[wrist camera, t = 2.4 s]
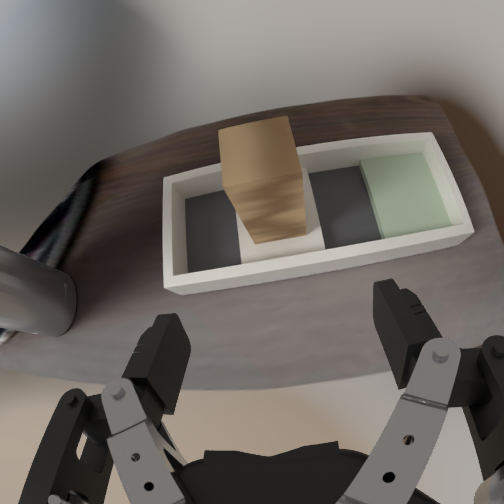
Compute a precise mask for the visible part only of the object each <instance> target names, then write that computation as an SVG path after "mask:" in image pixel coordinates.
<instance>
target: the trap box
mask: <svg viewBox="0 0 504 504" xmlns="http://www.w3.org/2000/svg"><path fill="white" fill-rule="evenodd" d="M296 150H297V153H298V157H299V161H300V165H301V169H302V175H303V188H304V202H305V217H306V235H305V236H300V237H294V238H288V239H283V240H277V241H272V242H266V243H261V244H254V242H253V240H252V238H251V237H250V235H249V233H248V231H247V229H246V228H245V226H244V224H243V222H242V221H241V219H240V217H239V215H238V213H237V212H236V210H235V208H234V206H233V205H232V203H231V201H230V199H229V198H228V196H227V194H226V192H225V190H224V189H223V183H222V171H221V163H218V164H214V165H210V166H206V167H202V168H198V169H194V170H190V171H186V172H183V173H179V174H175V175H172V176H168V177H165V178H164V180H163V276H164V288H165V289H168V290H170V291H172V292H175V293H177V294H180V295H187V294H194V293H201V292H208V291H215V290H222V289H228V288H235V287H241V286H247V285H254V284H260V283H266V282H272V281H278V280H284V279H290V278H296V277H301V276H307V275H313V274H318V273H324V272H329V271H335V270H340V269H346V268H351V267H356V266H361V265H367V264H372V263H377V262H382V261H387V260H392V259H397V258H402V257H407V256H411V255H416V254H421V253H426V252H430V251H435V250H439V249H444V248H448V247H453V246H457V245H459V244H460V243H462V242H463V241H464V240H465V239H467V238H468V237H469V236H470V235H472V234H473V233H474V229H473V226H472V223H471V220H470V217H469V214H468V211H467V209H466V206H465V203H464V201H463V198H462V196H461V193H460V191H459V188H458V186H457V183H456V181H455V179H454V177H453V174H452V172H451V170H450V168H449V165H448V163H447V161H446V159H445V157H444V155H443V153H442V151H441V149H440V147H439V145H438V143H437V141H436V139H435V137H434V135H433V134H432V132H425V133H409V134H396V135H385V136H375V137H366V138H357V139H349V140H341V141H334V142H327V143H320V144H314V145H308V146H302V147H296Z"/></svg>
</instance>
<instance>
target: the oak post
mask: <svg viewBox="0 0 504 504" xmlns="http://www.w3.org/2000/svg"><path fill="white" fill-rule="evenodd" d="M218 133H219V146H220V159H221V171H222V183H223V189H224V190H225V192H226V194H227V196H228V198H229V199H230V201H231V203H232V205H233V206H234V208H235V210H236V212H237V213H238V215H239V217H240V219H241V221H242V222H243V224H244V226H245V228H246V229H247V231H248V233H249V235H250V237H251V238H252V240H253V242H254V244H261V243H266V242H272V241H277V240H283V239H288V238H294V237H300V236H305V235H306V217H305V202H304V188H303V175H302V169H301V165H300V161H299V157H298V153H297V150H296V146H295V142H294V138H293V135H292V131H291V127H290V124H289V120H288V117H287V116H282V117H276V118H271V119H266V120H261V121H256V122H251V123H246V124H242V125H238V126H233V127H229V128H225V129H221V130H218Z"/></svg>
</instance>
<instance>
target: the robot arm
mask: <svg viewBox="0 0 504 504" xmlns="http://www.w3.org/2000/svg"><path fill="white" fill-rule="evenodd" d="M76 302H77V298H76V290H75V286H74V283H73V281H72V279H71V277H70V276H69V275H68V274H67V273H65V272H63V271H60V270H58V269H55V268H53V267H50V266H48V265H46V264H43V263H41V262H38V261H36V260H34V259H31V258H29V257H26V256H24V255H22V254H19V253H17V252H15V251H12V250H10V249H8V248H6V247H4V246H1V245H0V327H1V328H6V329H11V330H17V331H22V332H28V333H34V334H40V335H47V336H60V335H62V334H63V333H65V332H66V331H67V329H68V328H69V327H70V325H71V323H72V321H73V318H74V315H75V311H76ZM373 319H374V324H375V328H376V330H377V333H378V335H379V338H380V340H381V343H382V345H383V348H384V351H385V353H386V356H387V359H388V361H389V364H390V367H391V370H392V372H393V375H394V378H395V381H396V384H397V386H398V389H403V388H406V390H405V392H404V394H403V395H401V397H400V399H399V401H398V403H397V405H396V407H395V409H394V411H393V413H392V415H391V417H390V419H389V421H388V423H387V425H386V427H385V428H384V430H383V432H382V434H381V436H380V438H379V439H378V441H377V443H376V445H375V446H374V448H373V450H372V452H371V453H370V455H367V454H364V453H361V452H358V451H354V450H347V449H339V446H338V441H335V442H329V443H323V444H316V445H309V446H303V447H300V448H297V449H294V450H291V451H288V452H284V453H281V454H278V455H274V456H270V457H267V456H260V455H255V454H249V453H244V452H239V451H209V450H206V451H205V452H204V458H203V459H200V460H196V461H193V462H191V463H187V461H186V460H185V459H184V458H183V456H182V455H181V453H180V452H179V450H178V448H177V446H176V445H175V443H174V441H173V439H172V438H171V436H170V434H169V432H168V430H167V429H166V427H165V425H164V423H163V422H162V421H161V419H162V416H163V414H168V415H173V414H174V411H175V407H176V403H177V400H178V396H179V392H180V389H181V385H182V382H183V378H184V374H185V371H186V367H187V364H188V360H189V357H190V353H191V345H190V341H189V338H188V336H187V334H186V332H185V330H184V328H183V326H182V323H181V321H180V319H179V317H178V315H177V314H176V313H171V314H162V315H158V316H157V317H156V319H155V322H154V324H153V326H152V327H149V328H148V329H147V330H146V331H145V332H144V333H143V334H142V335H141V337H140V339H139V341H138V343H137V346H136V348H135V350H134V354H132V356H131V358H130V360H129V362H128V365H127V367H126V369H125V371H124V373H123V375H122V378H120V379H116V380H113V381H111V382H110V383H109V384H107V385H106V387H105V388H104V389H103V392H102V393H101V394H97V395H92V396H86V394H85V393H84V392H83V391H82V390H81V389H78V388H75V389H71V390H69V391H67V392H66V393H65V394H64V395H63V396H62V397H61V399H60V401H59V403H58V405H57V407H56V409H55V411H54V413H53V416H52V418H51V420H50V422H49V424H48V427H47V429H46V431H45V433H44V436H43V438H42V440H41V443H40V445H39V448H38V450H37V453H36V455H35V458H34V460H33V463H32V466H31V468H30V471H29V474H28V477H27V479H26V482H25V485H24V488H23V491H22V494H21V497H20V500H19V503H18V504H103V503H104V499H105V495H106V491H107V486H108V483H109V479H110V475H111V471H112V467H113V463H114V464H115V466H116V469H117V471H118V475H119V477H120V480H121V482H122V485H123V487H124V490H125V492H126V494H127V497H128V499H129V501H130V504H440V503H438V502H436V501H435V500H434V499H432V498H430V497H429V496H428V495H426V494H424V493H423V492H421V491H420V490H418V489H417V488H415V487H416V485H417V484H418V482H419V480H420V478H421V476H422V473H423V471H424V469H425V467H426V465H427V463H428V460H429V458H430V456H431V454H432V451H433V449H434V446H435V444H436V441H437V439H438V436H439V434H440V431H441V428H442V425H443V423H444V420H445V417H446V414H447V411H448V408H449V407H462V408H463V412H464V414H465V417H466V420H467V423H468V426H469V429H470V433H471V436H472V439H473V442H474V446H475V449H476V453H477V456H478V460H479V464H480V468H481V472H482V476H483V480H484V482H483V483H482V484H481V485H480V486H479V487H478V489H477V491H476V493H475V497H474V504H504V337H503V336H499V335H495V336H491V337H488V338H487V339H486V340H485V341H484V342H483V345H482V347H481V348H470V349H461V348H459V347H458V346H457V344H456V343H455V342H453V341H452V340H449V339H446V338H443V337H442V336H441V334H440V332H439V331H438V329H437V327H436V326H435V324H434V322H433V321H432V319H431V317H430V316H429V314H428V313H427V312H426V309H425V308H424V306H423V305H422V303H421V302H420V300H419V298H418V297H417V295H416V294H414V293H413V292H411V291H410V290H408V289H407V288H406V289H401V290H400V289H399V287H398V286H397V284H396V283H395V281H394V280H393V279H387V280H382V281H377V282H374V286H373ZM82 433H83V434H85V435H86V436H87V440H86V443H85V446H84V449H83V452H82V455H81V458H80V460H79V459H78V457H77V454H76V449H77V446H78V443H79V441H80V438H81V435H82Z"/></svg>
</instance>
